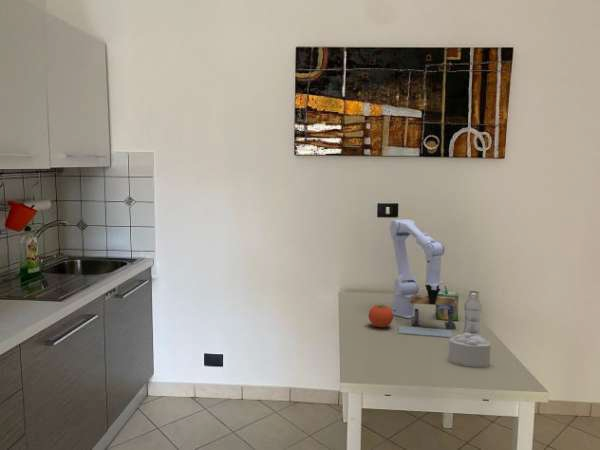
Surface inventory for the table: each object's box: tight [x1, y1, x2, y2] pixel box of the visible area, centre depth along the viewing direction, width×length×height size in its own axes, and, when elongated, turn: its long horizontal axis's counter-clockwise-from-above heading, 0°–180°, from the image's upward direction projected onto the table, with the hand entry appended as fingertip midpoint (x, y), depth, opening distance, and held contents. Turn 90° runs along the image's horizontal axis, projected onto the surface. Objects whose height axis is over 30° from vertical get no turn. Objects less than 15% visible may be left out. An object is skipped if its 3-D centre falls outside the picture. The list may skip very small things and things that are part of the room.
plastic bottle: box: [462, 290, 483, 336], centre depth 182 cm, size 6×7×20 cm
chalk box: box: [434, 284, 459, 322], centre depth 216 cm, size 9×9×15 cm
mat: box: [397, 325, 454, 339], centre depth 195 cm, size 21×9×1 cm, turn 78°
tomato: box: [368, 304, 394, 328], centre depth 201 cm, size 10×10×10 cm
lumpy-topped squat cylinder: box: [447, 332, 491, 368], centre depth 165 cm, size 10×13×9 cm
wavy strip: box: [410, 294, 455, 306], centre depth 200 cm, size 18×3×3 cm, turn 79°
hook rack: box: [410, 308, 457, 330], centre depth 204 cm, size 18×6×6 cm, turn 78°
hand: (431, 303), depth 200 cm, fingers closed on wavy strip, 3 cm apart
